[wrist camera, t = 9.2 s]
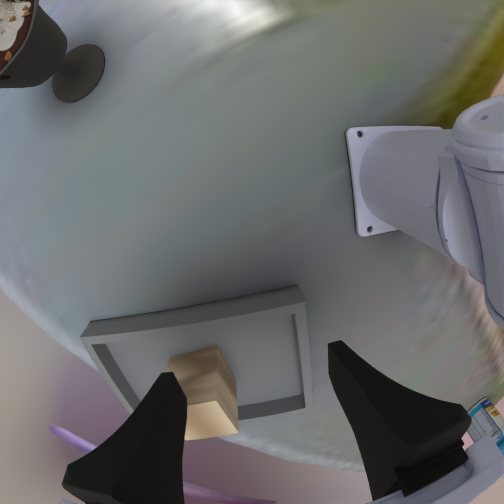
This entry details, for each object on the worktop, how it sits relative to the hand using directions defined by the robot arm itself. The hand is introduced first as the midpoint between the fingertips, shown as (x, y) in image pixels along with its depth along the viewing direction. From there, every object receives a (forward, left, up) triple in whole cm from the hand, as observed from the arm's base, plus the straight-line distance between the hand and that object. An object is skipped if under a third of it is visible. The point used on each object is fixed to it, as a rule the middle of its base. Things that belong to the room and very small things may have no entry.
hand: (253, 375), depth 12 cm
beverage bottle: (-42, +44, -10) cm, 62 cm away
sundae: (+9, -19, -10) cm, 23 cm away
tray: (+5, +8, -9) cm, 13 cm away
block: (+5, +7, -9) cm, 12 cm away
